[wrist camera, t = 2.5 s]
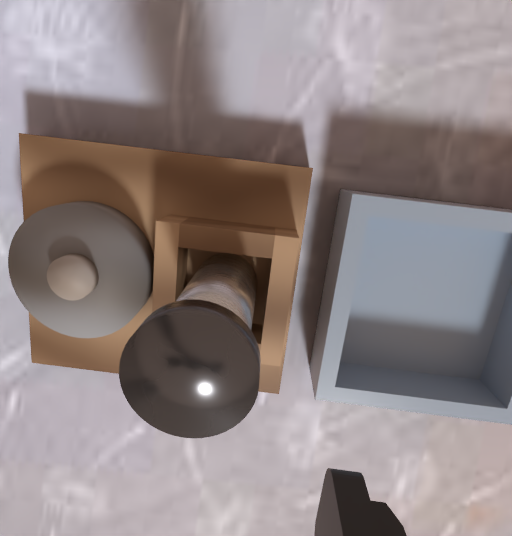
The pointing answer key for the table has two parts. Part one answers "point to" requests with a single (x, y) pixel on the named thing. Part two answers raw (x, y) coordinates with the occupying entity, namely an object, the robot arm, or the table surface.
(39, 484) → the table surface
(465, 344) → the tray
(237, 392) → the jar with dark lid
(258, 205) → the block
